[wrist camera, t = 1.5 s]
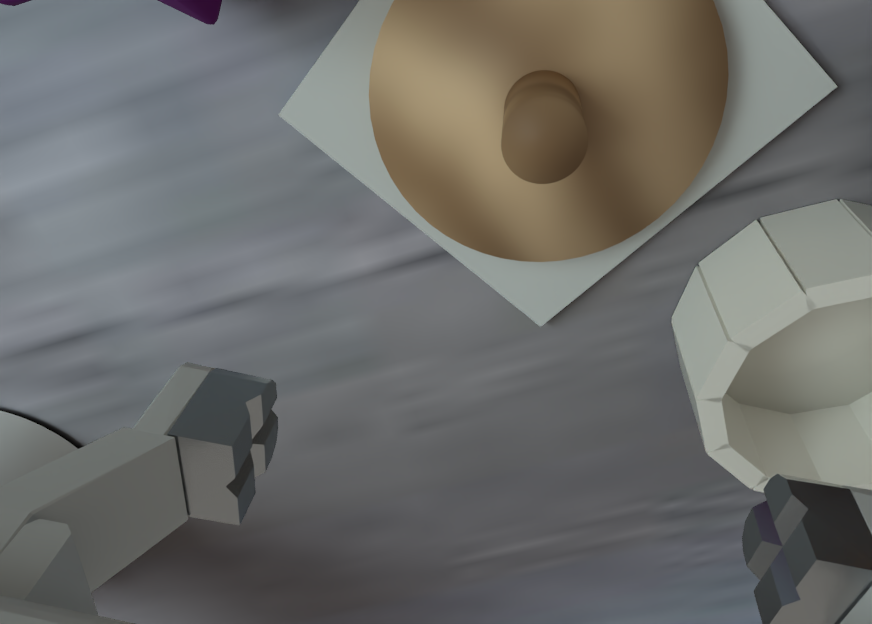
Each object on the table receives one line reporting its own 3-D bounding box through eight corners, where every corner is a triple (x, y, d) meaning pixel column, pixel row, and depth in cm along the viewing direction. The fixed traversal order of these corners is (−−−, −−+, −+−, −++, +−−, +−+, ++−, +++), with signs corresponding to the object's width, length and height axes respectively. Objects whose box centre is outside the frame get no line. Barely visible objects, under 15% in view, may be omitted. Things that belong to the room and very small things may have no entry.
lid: (541, 303, 33) (543, 366, 29) (309, 113, 29) (273, 156, 25) (798, 87, 26) (849, 130, 22) (541, -201, 22) (545, -217, 18)
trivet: (540, 320, 34) (540, 326, 33) (282, 110, 29) (278, 115, 29) (831, 82, 26) (837, 86, 26) (542, -255, 22) (542, -257, 21)
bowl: (771, 446, 37) (809, 536, 32) (622, 319, 33) (639, 398, 28) (1003, 318, 31) (1093, 404, 26) (852, 146, 27) (923, 209, 22)
